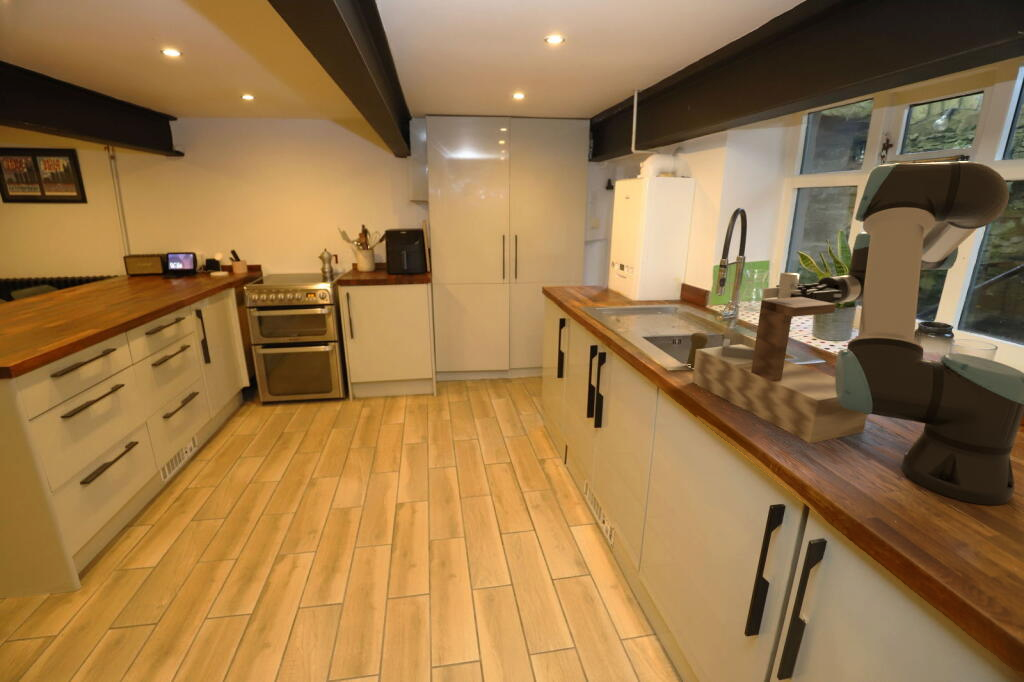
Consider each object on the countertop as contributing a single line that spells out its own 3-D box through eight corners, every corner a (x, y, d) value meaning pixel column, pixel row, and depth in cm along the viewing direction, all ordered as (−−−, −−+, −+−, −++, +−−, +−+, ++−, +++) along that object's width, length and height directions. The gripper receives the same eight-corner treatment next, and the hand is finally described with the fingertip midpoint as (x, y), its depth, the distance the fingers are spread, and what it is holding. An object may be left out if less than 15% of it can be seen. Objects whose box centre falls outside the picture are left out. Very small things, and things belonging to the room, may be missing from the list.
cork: (703, 371, 145) (707, 337, 142) (683, 367, 148) (687, 334, 145) (708, 366, 149) (712, 332, 146) (689, 362, 153) (693, 329, 150)
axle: (795, 319, 127) (802, 274, 124) (777, 318, 128) (783, 274, 124) (789, 315, 131) (795, 272, 128) (772, 315, 132) (778, 272, 129)
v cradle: (778, 360, 124) (780, 349, 123) (735, 366, 119) (737, 355, 119) (738, 345, 136) (739, 336, 136) (698, 350, 132) (699, 340, 131)
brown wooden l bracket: (821, 379, 110) (836, 303, 105) (781, 385, 107) (795, 307, 102) (788, 367, 118) (800, 296, 113) (751, 372, 115) (761, 300, 110)
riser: (863, 432, 106) (872, 390, 103) (809, 443, 101) (818, 400, 98) (736, 376, 141) (741, 344, 138) (692, 382, 136) (696, 349, 133)
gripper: (864, 309, 126) (797, 315, 119) (806, 297, 142) (744, 302, 135) (870, 281, 124) (802, 286, 117) (811, 272, 140) (748, 276, 133)
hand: (771, 295), depth 126 cm, fingers closed on axle, 4 cm apart
